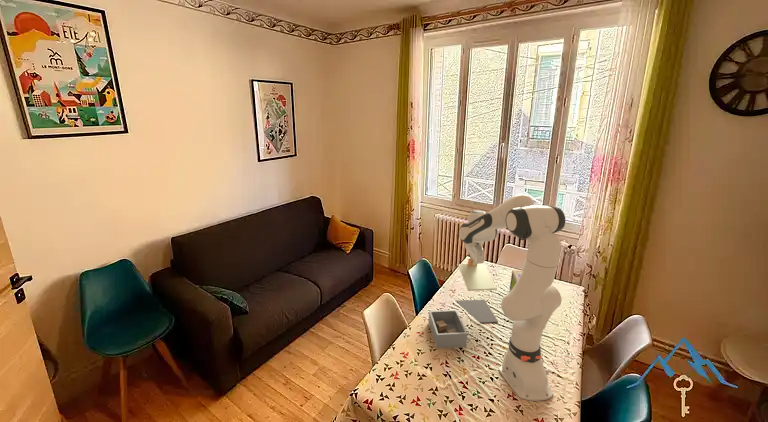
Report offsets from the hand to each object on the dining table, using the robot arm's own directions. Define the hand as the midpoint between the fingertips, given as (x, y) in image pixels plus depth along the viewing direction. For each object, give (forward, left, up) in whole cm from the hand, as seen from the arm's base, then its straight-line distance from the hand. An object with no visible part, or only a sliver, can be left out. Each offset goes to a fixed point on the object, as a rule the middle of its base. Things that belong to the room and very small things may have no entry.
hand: (472, 263), depth 181 cm
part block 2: (-29, +17, -25) cm, 42 cm away
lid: (-7, 0, -5) cm, 9 cm away
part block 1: (-22, +21, -25) cm, 39 cm away
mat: (-7, -2, -26) cm, 26 cm away
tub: (-25, +19, -26) cm, 41 cm away
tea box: (+3, -31, -26) cm, 40 cm away
